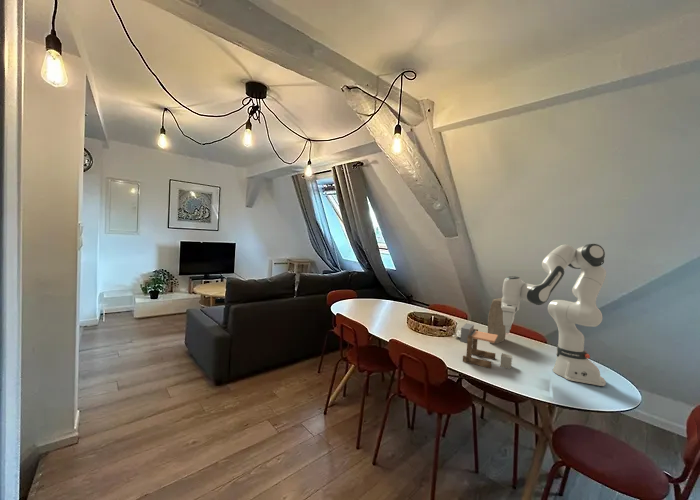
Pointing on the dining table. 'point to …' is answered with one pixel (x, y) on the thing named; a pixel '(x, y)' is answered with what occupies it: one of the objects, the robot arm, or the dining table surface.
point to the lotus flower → (458, 333)
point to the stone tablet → (496, 321)
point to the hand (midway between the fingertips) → (508, 331)
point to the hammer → (476, 334)
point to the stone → (506, 361)
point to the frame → (477, 353)
